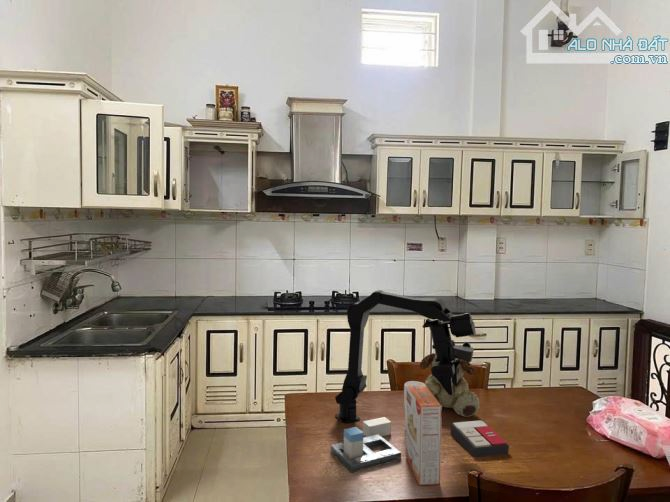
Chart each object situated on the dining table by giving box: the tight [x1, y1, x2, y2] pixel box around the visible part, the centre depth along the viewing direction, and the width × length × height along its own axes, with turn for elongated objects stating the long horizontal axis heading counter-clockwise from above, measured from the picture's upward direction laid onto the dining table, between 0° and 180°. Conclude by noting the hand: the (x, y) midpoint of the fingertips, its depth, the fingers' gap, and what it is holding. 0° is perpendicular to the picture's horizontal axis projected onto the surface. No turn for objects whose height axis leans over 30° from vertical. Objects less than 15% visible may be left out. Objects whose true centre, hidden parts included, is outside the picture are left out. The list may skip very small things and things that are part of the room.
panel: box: [330, 434, 402, 473], centre depth 129 cm, size 12×16×2 cm
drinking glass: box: [403, 380, 426, 422], centre depth 144 cm, size 7×7×15 cm
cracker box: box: [405, 386, 443, 486], centre depth 120 cm, size 14×6×21 cm, turn 5°
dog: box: [418, 352, 480, 418], centre depth 164 cm, size 23×19×20 cm
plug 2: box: [362, 416, 392, 437], centre depth 142 cm, size 4×8×4 cm, turn 116°
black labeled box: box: [450, 420, 510, 458], centre depth 137 cm, size 11×4×15 cm
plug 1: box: [343, 426, 364, 459], centre depth 126 cm, size 5×4×8 cm
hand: (453, 389), depth 139 cm, fingers open, 9 cm apart
